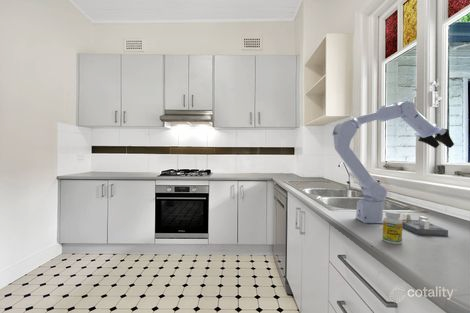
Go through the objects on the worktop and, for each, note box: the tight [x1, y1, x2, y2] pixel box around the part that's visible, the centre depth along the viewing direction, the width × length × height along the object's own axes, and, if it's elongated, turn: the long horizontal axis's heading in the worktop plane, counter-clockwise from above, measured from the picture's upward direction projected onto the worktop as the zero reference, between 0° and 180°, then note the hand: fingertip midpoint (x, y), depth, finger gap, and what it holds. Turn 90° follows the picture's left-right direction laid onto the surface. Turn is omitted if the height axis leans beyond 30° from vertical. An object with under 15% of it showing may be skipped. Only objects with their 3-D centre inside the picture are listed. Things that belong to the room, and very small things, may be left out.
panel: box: [401, 212, 449, 237], centre depth 96 cm, size 10×13×5 cm
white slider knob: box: [418, 215, 429, 223], centre depth 96 cm, size 2×2×2 cm, turn 177°
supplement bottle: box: [382, 210, 403, 245], centre depth 82 cm, size 5×5×10 cm
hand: (444, 146), depth 105 cm, fingers open, 7 cm apart
